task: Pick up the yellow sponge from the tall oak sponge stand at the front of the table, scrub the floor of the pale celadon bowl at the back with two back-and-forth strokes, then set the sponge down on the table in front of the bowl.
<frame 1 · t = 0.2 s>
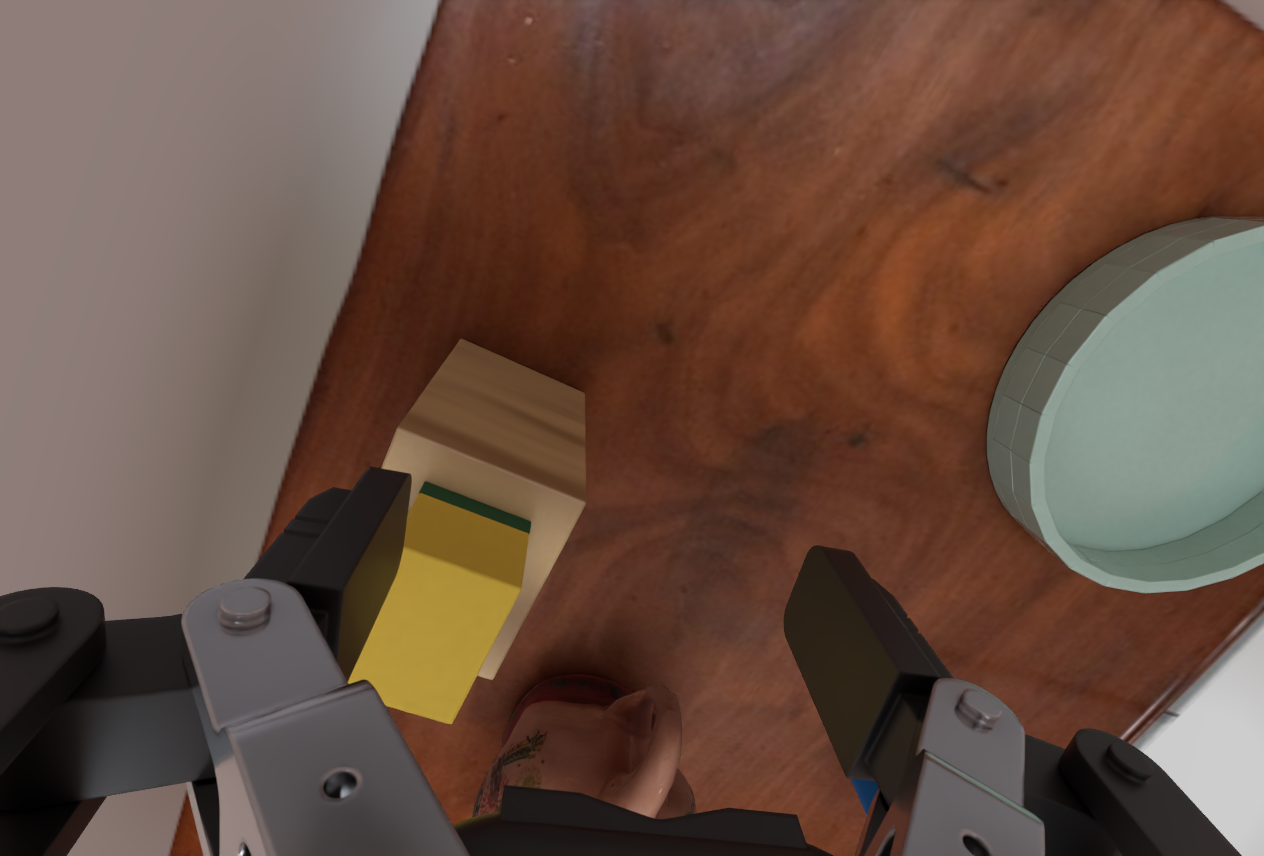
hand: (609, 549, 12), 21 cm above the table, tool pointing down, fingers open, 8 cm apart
bowl: (1160, 402, 37), on the table
sponge stand: (492, 437, 34), on the table
sponge: (449, 566, 23), point 12 cm above the table, touching sponge stand
beverage can: (883, 740, 46), on the table
decorative planter: (585, 703, 42), on the table
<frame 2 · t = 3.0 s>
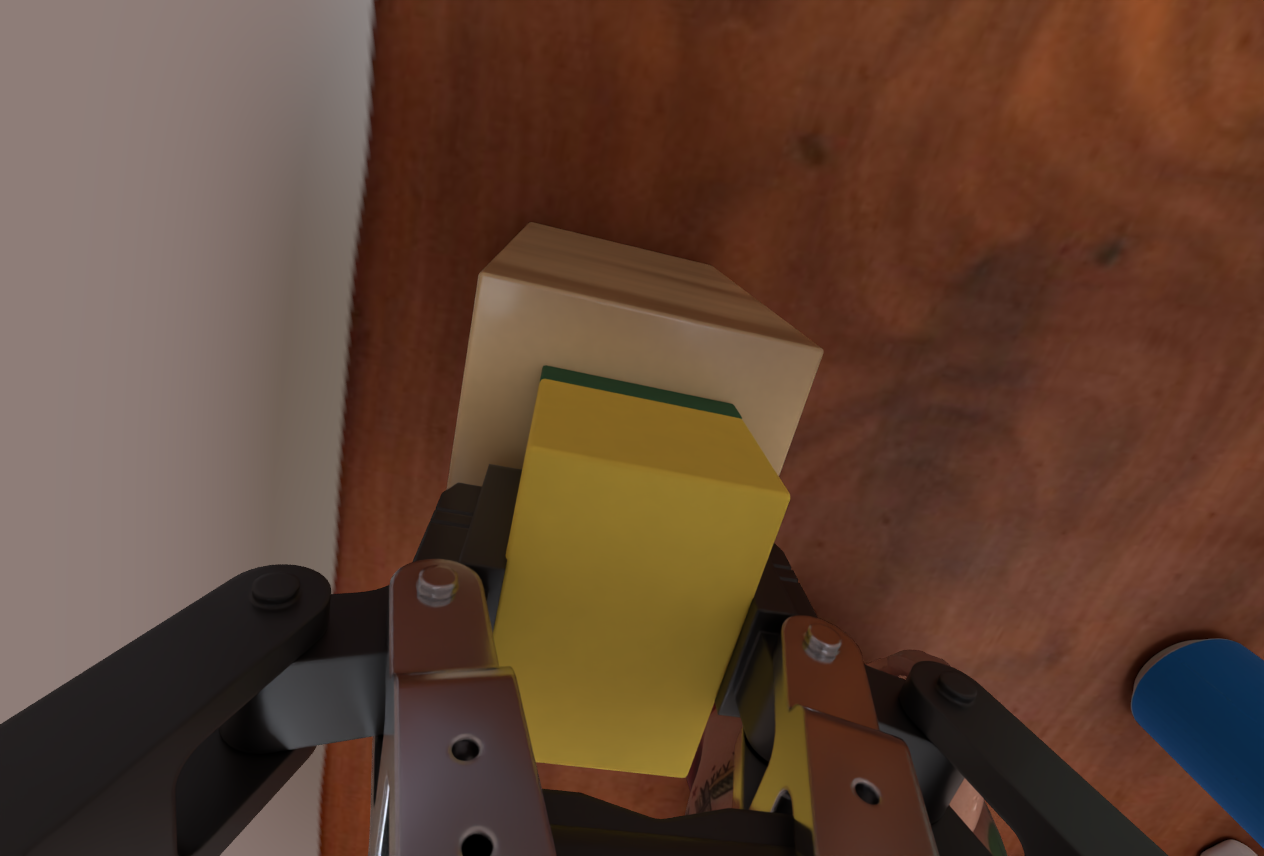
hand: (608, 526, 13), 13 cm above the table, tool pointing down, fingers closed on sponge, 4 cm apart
sponge stand: (597, 358, 25), on the table
sponge: (608, 511, 14), point 12 cm above the table, touching gripper, sponge stand
beverage can: (1175, 673, 34), on the table
decorative planter: (775, 693, 33), on the table
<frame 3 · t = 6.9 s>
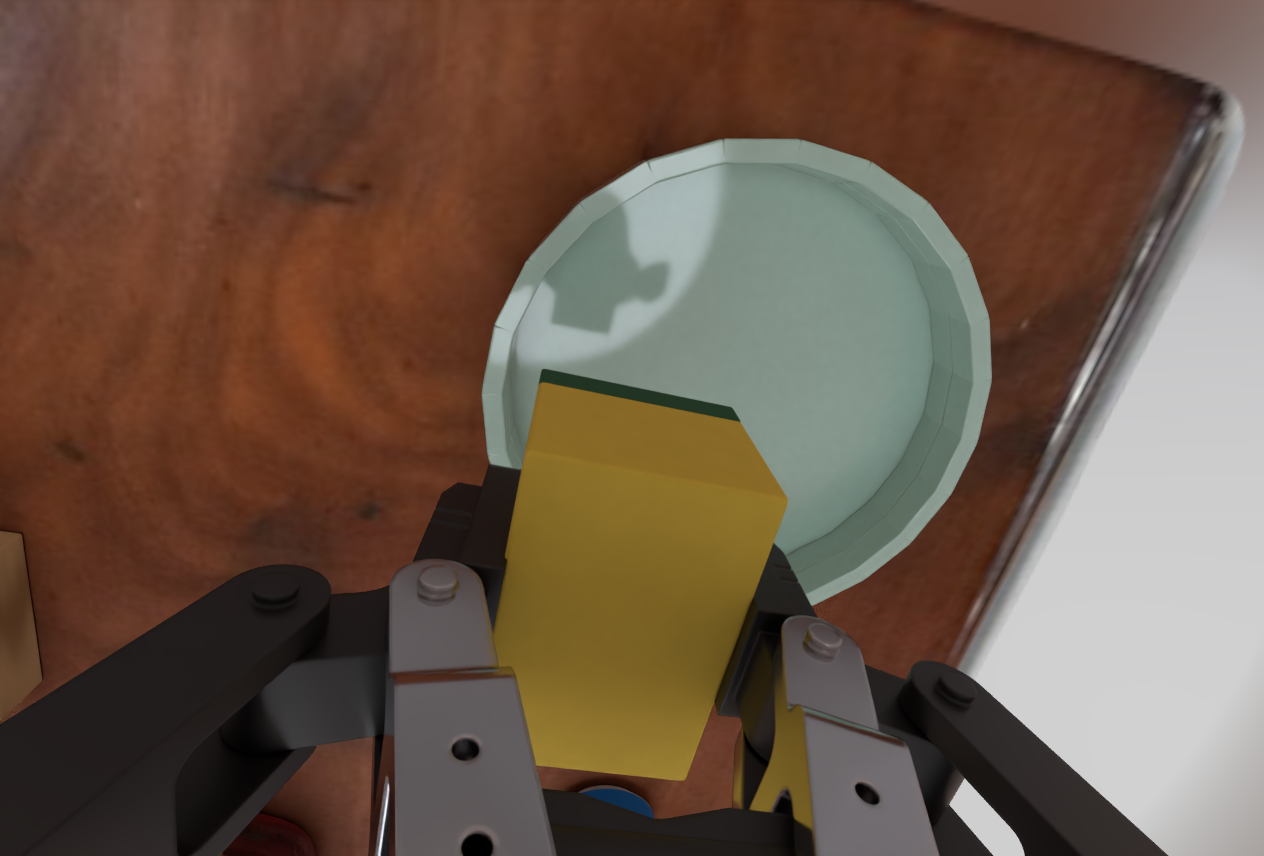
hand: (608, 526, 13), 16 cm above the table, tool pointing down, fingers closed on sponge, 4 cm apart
bowl: (721, 386, 29), on the table
sponge: (607, 514, 14), point 15 cm above the table, touching gripper
beverage can: (601, 810, 40), on the table
decorative planter: (237, 835, 38), on the table
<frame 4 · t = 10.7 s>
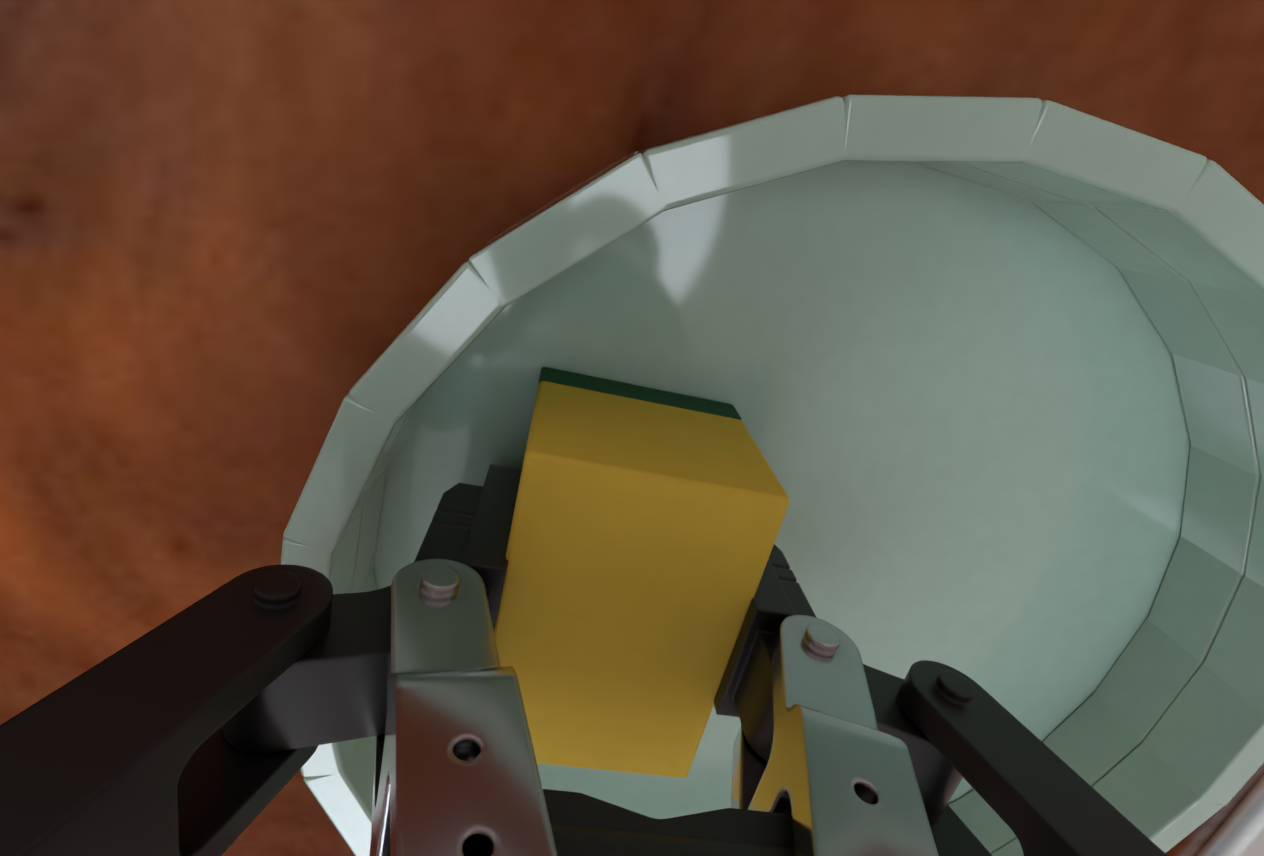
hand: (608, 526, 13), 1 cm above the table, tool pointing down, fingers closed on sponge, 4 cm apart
bowl: (779, 573, 16), on the table
sponge: (608, 511, 14), point 1 cm above the table, touching bowl, gripper
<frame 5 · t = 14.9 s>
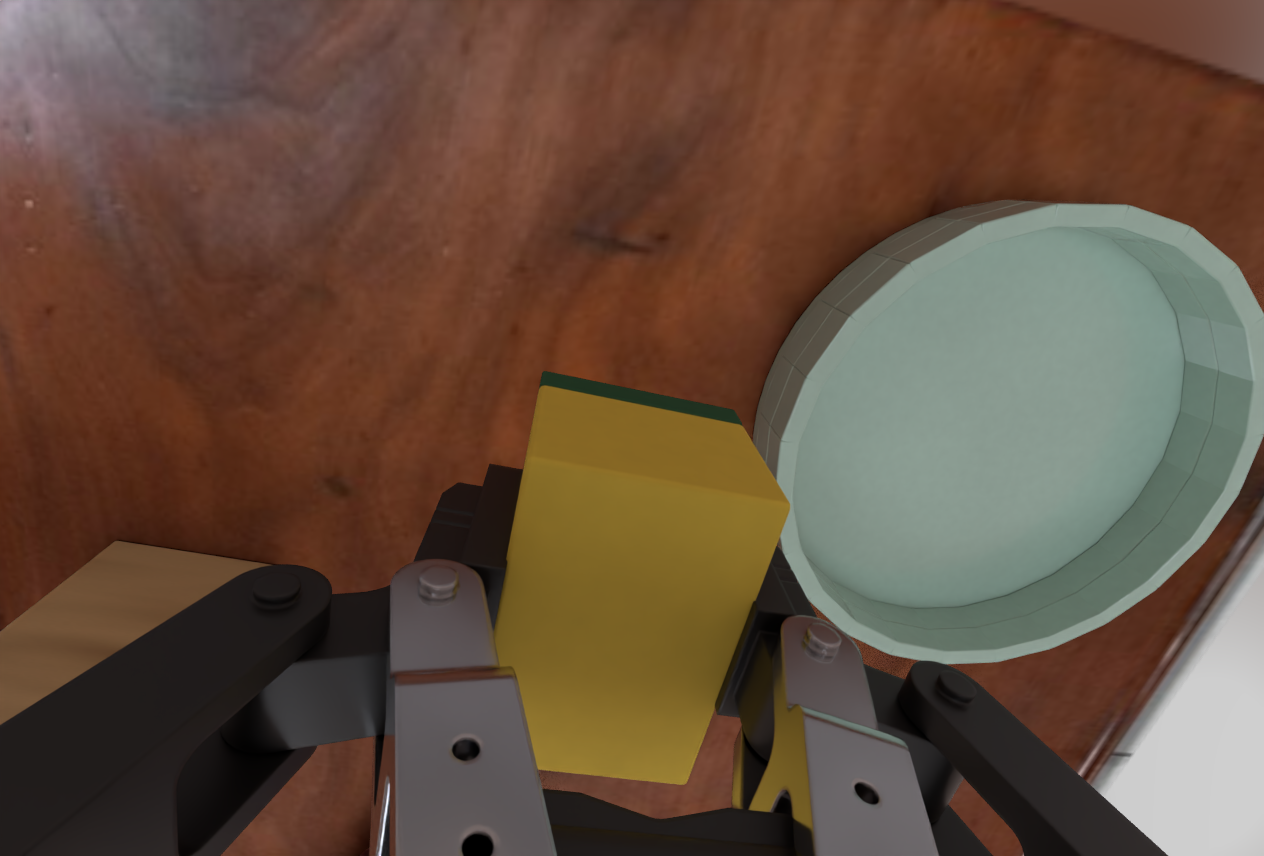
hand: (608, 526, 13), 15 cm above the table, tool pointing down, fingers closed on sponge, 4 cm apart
bowl: (967, 431, 30), on the table
sponge stand: (198, 629, 31), on the table
sponge: (608, 516, 14), point 14 cm above the table, touching gripper
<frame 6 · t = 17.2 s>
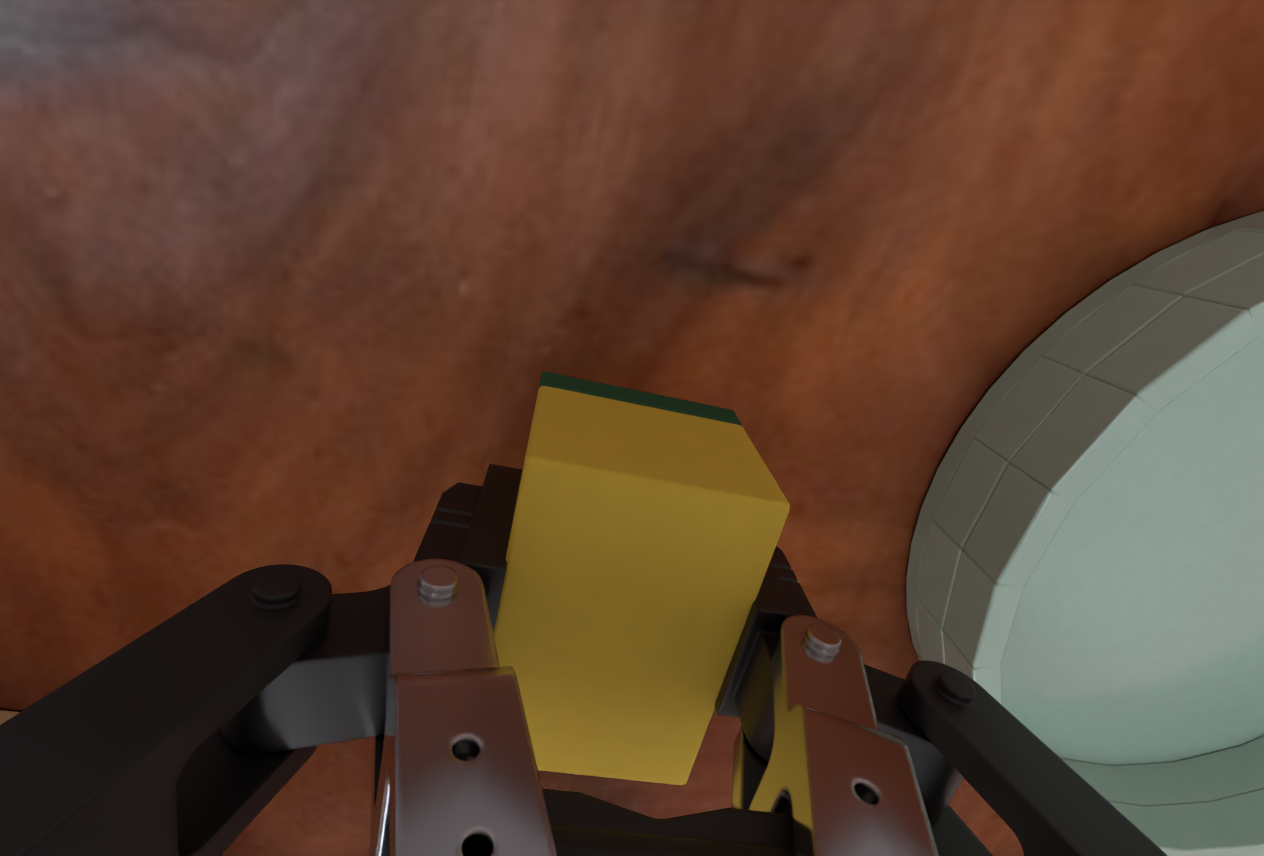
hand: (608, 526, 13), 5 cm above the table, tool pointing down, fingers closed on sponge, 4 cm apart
bowl: (1213, 532, 21), on the table
sponge: (607, 517, 14), point 4 cm above the table, touching gripper
when the fingers open (1 cm above the table, at t = 18.6 s): sponge stays where it is, on the table.
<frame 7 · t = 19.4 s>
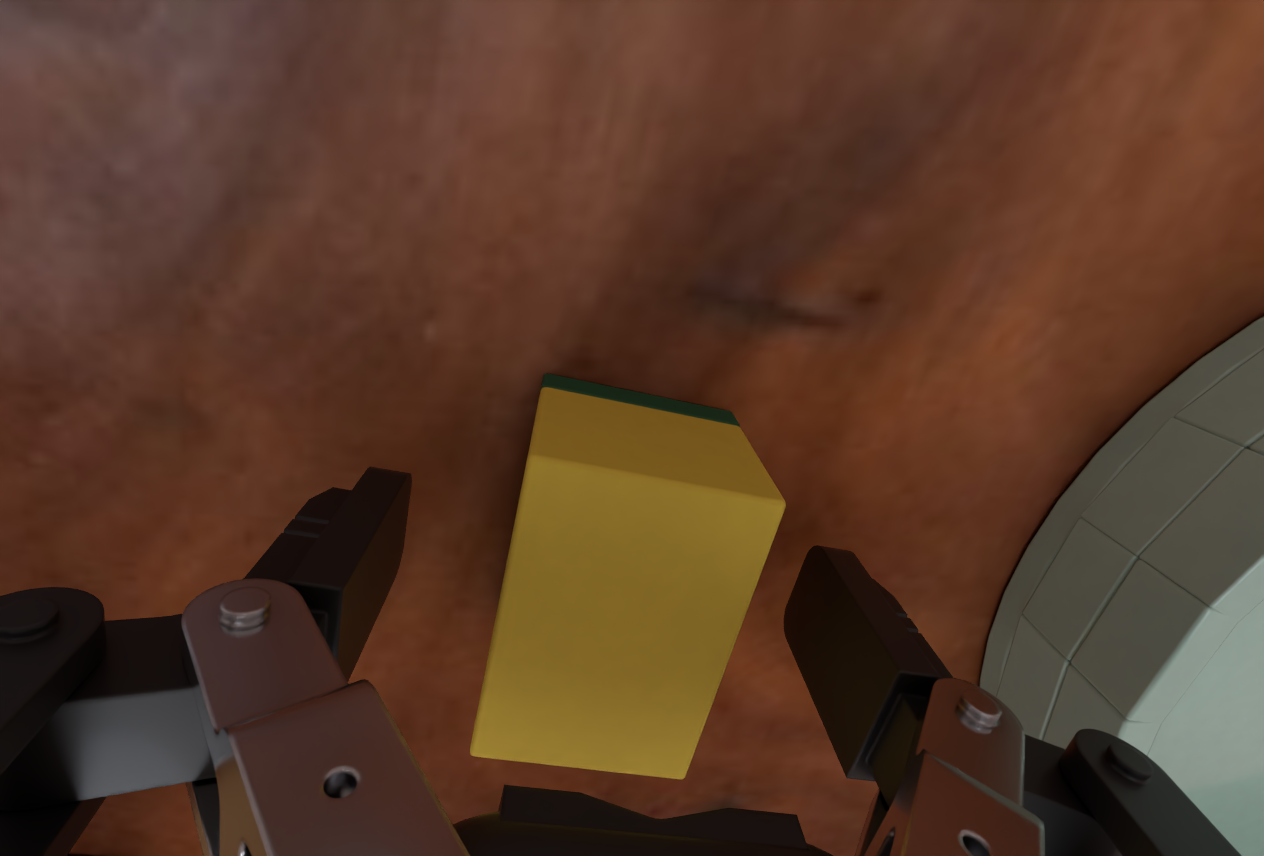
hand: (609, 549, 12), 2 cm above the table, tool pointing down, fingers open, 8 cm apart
sponge: (608, 516, 14), on the table
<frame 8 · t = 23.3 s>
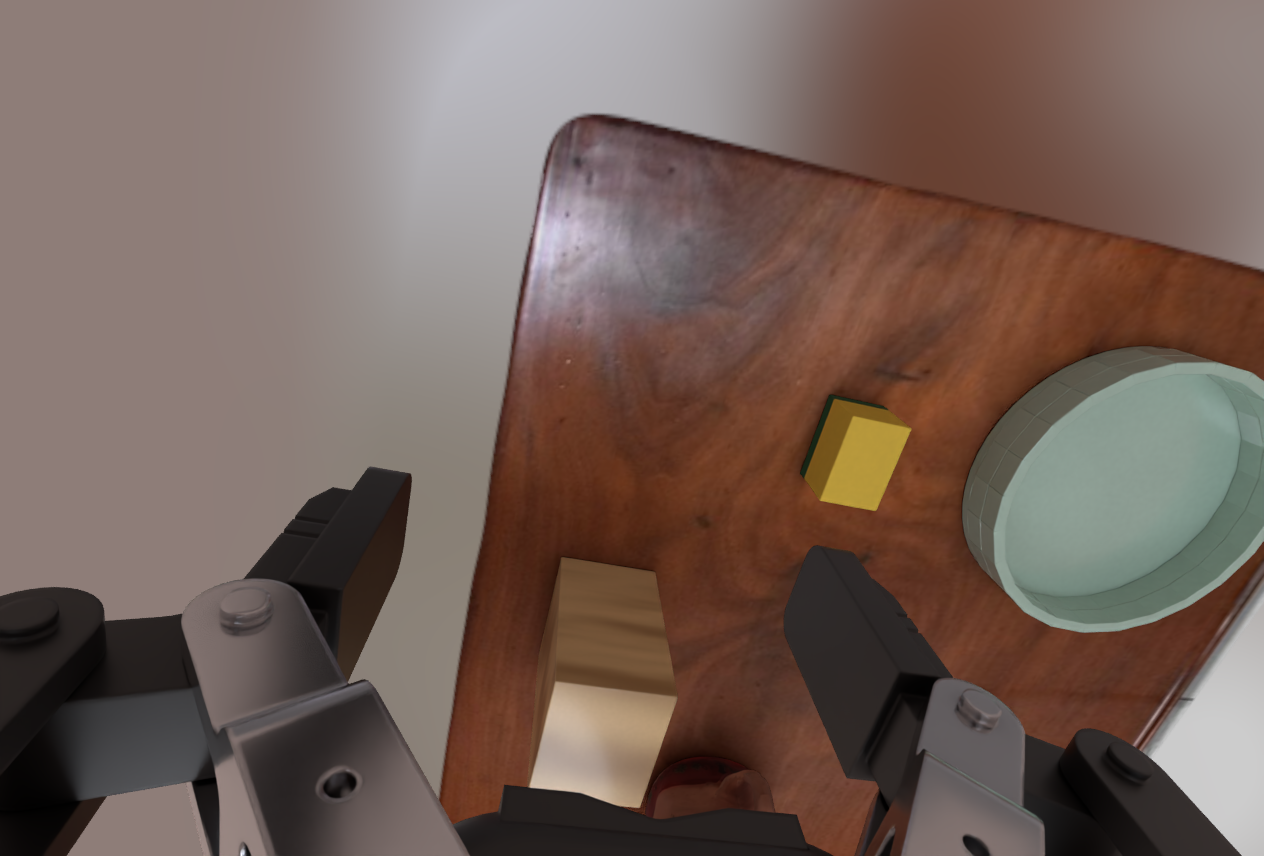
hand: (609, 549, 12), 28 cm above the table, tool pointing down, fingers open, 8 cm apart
bowl: (1099, 482, 46), on the table
sponge stand: (595, 613, 47), on the table
sponge: (841, 440, 43), on the table
decorative planter: (701, 775, 55), on the table
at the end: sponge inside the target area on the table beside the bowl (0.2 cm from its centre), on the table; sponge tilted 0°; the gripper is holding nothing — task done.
